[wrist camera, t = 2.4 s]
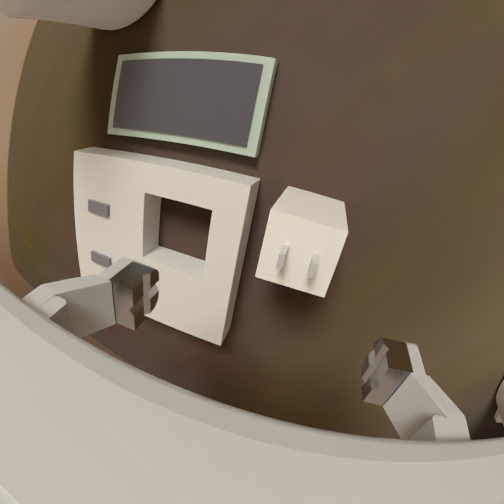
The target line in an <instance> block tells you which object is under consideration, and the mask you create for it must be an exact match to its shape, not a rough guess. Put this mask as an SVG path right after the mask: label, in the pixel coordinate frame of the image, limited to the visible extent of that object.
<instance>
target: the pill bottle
mask: <svg viewBox="0 0 504 504" xmlns="http://www.w3.org/2000/svg"><path fill="white" fill-rule="evenodd" d="M155 1H156V0H0V12H1V13H2V14H3V15H5V16H8V17H10V18H24V19H37V20H48V21H56V22H63V23H70V24H76V25H82V26H87V27H92V28H97V29H102V30H117V29H121V28H124V27H126V26H129V25H130V24H132V23H134V22H135V21H137V20H138V19H139V18H141V17H142V16H143V15H144V14H145V13H146V12H147V11H148V10H149V9H150V8H151V7H152V5H153V4H154V3H155Z"/></svg>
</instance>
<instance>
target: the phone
mask: <svg viewBox="0 0 504 504" xmlns="http://www.w3.org/2000/svg"><path fill="white" fill-rule="evenodd" d="M277 64H278V60H277V59H276V58H271V57H263V56H255V55H246V54H235V53H221V52H197V51H171V52H148V53H134V54H124V55H119V57H118V62H117V67H116V73H115V78H114V85H113V91H112V98H111V105H110V113H109V123H108V133H107V134H114V135H124V136H133V137H141V138H149V139H156V140H163V141H170V142H177V143H183V144H189V145H195V146H200V147H206V148H211V149H217V150H222V151H227V152H232V153H236V154H241V155H246V156H250V157H258V155H259V150H260V145H261V141H262V136H263V131H264V126H265V121H266V116H267V111H268V106H269V102H270V97H271V92H272V87H273V83H274V78H275V73H276V68H277Z"/></svg>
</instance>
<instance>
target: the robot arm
mask: <svg viewBox="0 0 504 504" xmlns="http://www.w3.org/2000/svg"><path fill="white" fill-rule="evenodd" d="M158 281H159V272H158V270H157V269H154V268H152V267H149V266H147V265H144V264H141V263H139V262H136V261H134V260H131V259H128V258H126V257H122V258H120V259H119V260H118V261H116V262H115V263H113V264H112V265H111V266H109V267H108V268H107V269H105V270H104V271H103V272H101V273H100V274H99V275H95V274H92V275H87V276H82V277H77V278H72V279H67V280H62V281H57V282H52V283H47V284H42V285H40V286H39V287H37V288H36V289H35V290H33V291H32V292H31V293H29V294H28V295H27V296H25V297H24V298H23V299H21V298H19V297H18V296H16V295H15V294H14V293H13V292H11V291H10V290H9V289H7V288H6V287H5V286H4V285H2V284H1V283H0V504H504V437H501V438H491V439H480V440H470V435H469V431H468V427H467V423H466V419H465V416H464V415H463V413H462V412H461V411H460V410H459V409H458V408H457V406H456V405H455V404H454V403H453V402H452V401H451V400H450V399H449V397H448V396H447V395H446V394H445V393H444V392H443V391H442V390H441V388H440V387H439V386H438V385H437V384H436V383H435V382H434V381H433V380H432V379H431V377H430V376H427V375H426V374H425V370H424V367H423V363H422V360H421V356H420V353H419V349H418V346H417V345H416V344H413V343H408V342H401V341H396V340H392V339H388V338H383V337H379V338H378V339H377V341H376V342H375V344H374V351H372V352H371V353H369V354H368V355H367V357H366V359H365V360H364V363H363V366H362V372H361V374H362V379H363V380H364V382H365V384H364V385H363V387H362V396H363V402H367V403H372V404H378V405H383V408H384V410H385V411H386V413H387V415H388V417H389V418H390V420H391V422H392V424H393V425H394V427H395V429H396V431H397V433H398V434H399V436H400V438H401V439H388V438H378V437H369V436H361V435H353V434H347V433H340V432H334V431H329V430H323V429H318V428H313V427H308V426H304V425H299V424H295V423H291V422H286V421H282V420H278V419H274V418H271V417H267V416H263V415H260V414H256V413H253V412H249V411H246V410H243V409H239V408H236V407H233V406H230V405H227V404H224V403H221V402H218V401H215V400H212V399H210V398H207V397H204V396H201V395H199V394H196V393H193V392H191V391H188V390H186V389H183V388H181V387H178V386H176V385H173V384H171V383H169V382H166V381H164V380H162V379H159V378H157V377H155V376H153V375H150V374H148V373H146V372H144V371H142V370H140V369H137V368H135V367H133V366H131V365H129V364H127V363H125V362H123V361H121V360H119V359H117V358H115V357H113V356H111V355H110V354H108V353H106V352H104V351H102V350H100V349H98V348H97V347H95V346H93V345H91V344H90V343H88V342H86V341H84V340H83V339H81V337H84V336H86V335H89V334H91V333H94V332H96V331H99V330H101V329H104V328H106V327H109V326H111V325H113V324H116V323H118V324H121V325H123V326H125V327H127V328H130V329H132V330H136V329H137V328H138V327H139V326H140V324H141V323H142V322H143V321H144V315H146V314H149V313H151V312H152V311H153V309H154V308H155V306H156V304H157V301H158V297H159V290H158V288H157V286H156V283H157V282H158ZM496 403H497V411H496V413H495V416H494V418H495V420H496V422H497V423H500V422H502V423H503V426H504V380H503V381H502V383H501V385H500V387H499V389H498V392H497V395H496Z"/></svg>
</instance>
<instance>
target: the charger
mask: <svg viewBox="0 0 504 504" xmlns="http://www.w3.org/2000/svg"><path fill="white" fill-rule="evenodd" d="M347 234H348V227H347V219H346V212H345V205H344V202H342V201H339V200H335V199H332V198H329V197H325V196H322V195H319V194H315V193H312V192H308V191H305V190H301V189H298V188H294V187H290V186H288V187H287V188H286V190H285V191H284V192H283V194H282V195H281V196H280V198H279V199H278V200H277V202H276V203H275V204H274V205H273V207H272V208H271V210H270V214H269V219H268V223H267V227H266V232H265V236H264V240H263V245H262V249H261V253H260V258H259V262H258V266H257V270H256V275H255V277H258V278H261V279H264V280H267V281H271V282H274V283H277V284H280V285H284V286H287V287H290V288H294V289H297V290H300V291H303V292H307V293H310V294H313V295H317V296H320V297H325V294H326V291H327V289H328V286H329V284H330V281H331V279H332V276H333V273H334V271H335V268H336V265H337V262H338V260H339V257H340V254H341V251H342V249H343V246H344V243H345V240H346V237H347Z"/></svg>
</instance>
